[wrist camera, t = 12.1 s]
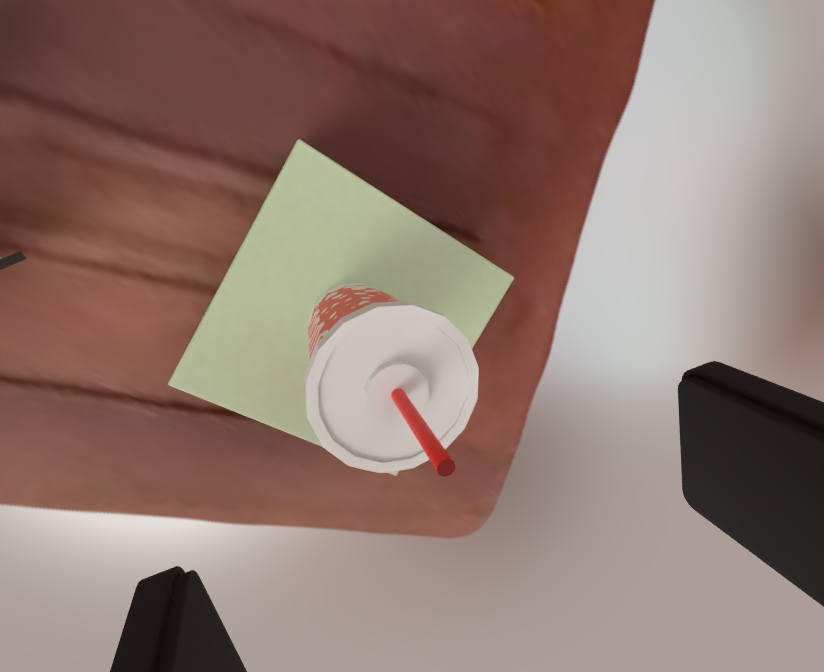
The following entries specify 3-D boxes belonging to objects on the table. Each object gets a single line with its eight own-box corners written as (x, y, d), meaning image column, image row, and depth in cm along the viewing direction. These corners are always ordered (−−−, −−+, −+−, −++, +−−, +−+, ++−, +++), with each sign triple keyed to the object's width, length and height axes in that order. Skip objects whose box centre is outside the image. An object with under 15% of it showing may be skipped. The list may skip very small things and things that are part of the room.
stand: (291, 150, 28) (298, 138, 22) (469, 262, 33) (515, 277, 27) (187, 346, 30) (167, 385, 23) (373, 426, 34) (396, 476, 28)
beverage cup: (333, 242, 24) (414, 300, 11) (432, 306, 26) (598, 417, 13) (267, 349, 24) (269, 527, 11) (370, 402, 27) (471, 601, 14)
